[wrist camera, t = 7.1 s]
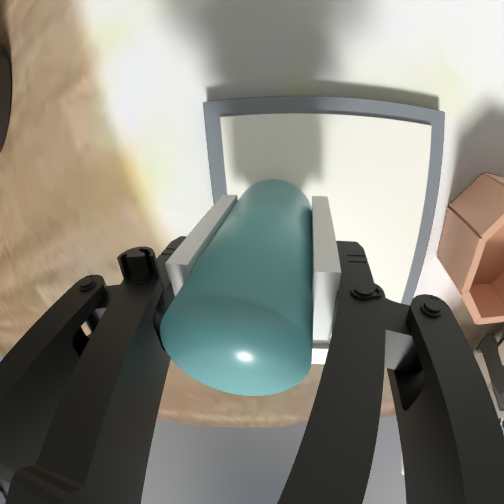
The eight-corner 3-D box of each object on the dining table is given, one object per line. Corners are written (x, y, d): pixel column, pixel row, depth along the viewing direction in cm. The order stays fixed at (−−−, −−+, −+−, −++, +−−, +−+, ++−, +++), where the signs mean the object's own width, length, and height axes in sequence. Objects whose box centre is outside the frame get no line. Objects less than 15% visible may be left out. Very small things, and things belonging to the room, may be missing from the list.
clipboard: (207, 102, 15) (198, 102, 13) (438, 111, 12) (450, 112, 11) (237, 345, 25) (233, 358, 23) (388, 351, 22) (391, 364, 21)
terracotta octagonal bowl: (453, 166, 13) (490, 188, 10) (535, 186, 12) (569, 209, 8) (427, 286, 18) (446, 327, 14) (506, 285, 16) (528, 318, 12)
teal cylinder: (241, 170, 16) (141, 287, 6) (312, 170, 15) (319, 300, 5) (247, 233, 17) (180, 384, 8) (311, 235, 17) (305, 400, 7)
